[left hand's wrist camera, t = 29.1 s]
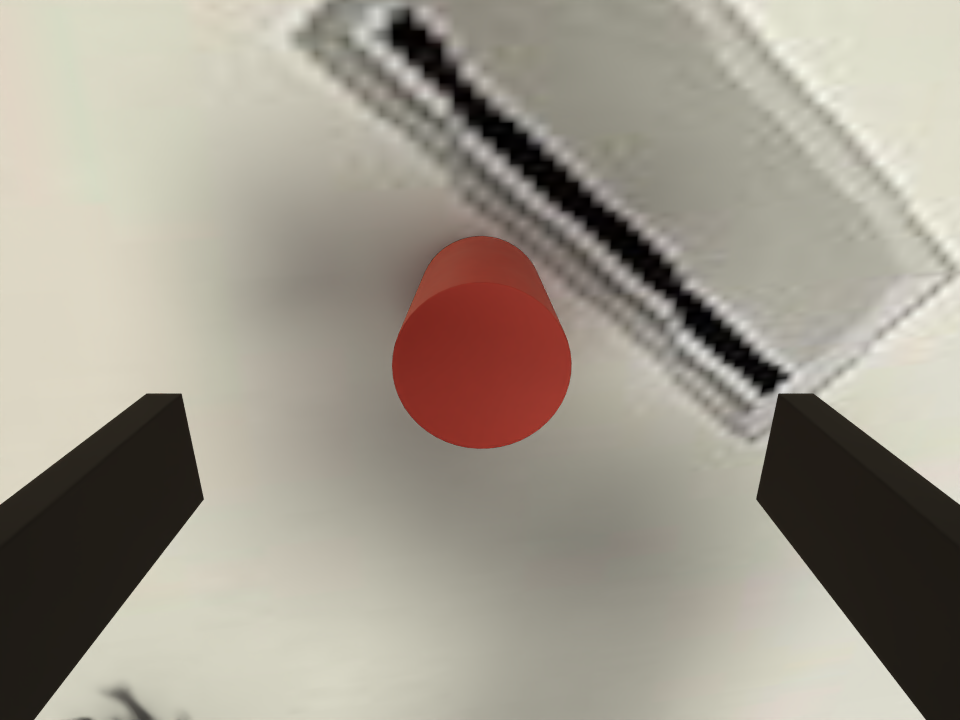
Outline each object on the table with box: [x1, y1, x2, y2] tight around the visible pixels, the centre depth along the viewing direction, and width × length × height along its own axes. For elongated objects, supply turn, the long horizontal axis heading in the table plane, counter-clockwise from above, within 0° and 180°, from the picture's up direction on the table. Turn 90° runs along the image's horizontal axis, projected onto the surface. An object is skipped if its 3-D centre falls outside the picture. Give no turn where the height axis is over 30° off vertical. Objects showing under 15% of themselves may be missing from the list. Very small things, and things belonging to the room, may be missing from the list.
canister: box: [392, 236, 571, 449], centre depth 21 cm, size 6×6×9 cm
